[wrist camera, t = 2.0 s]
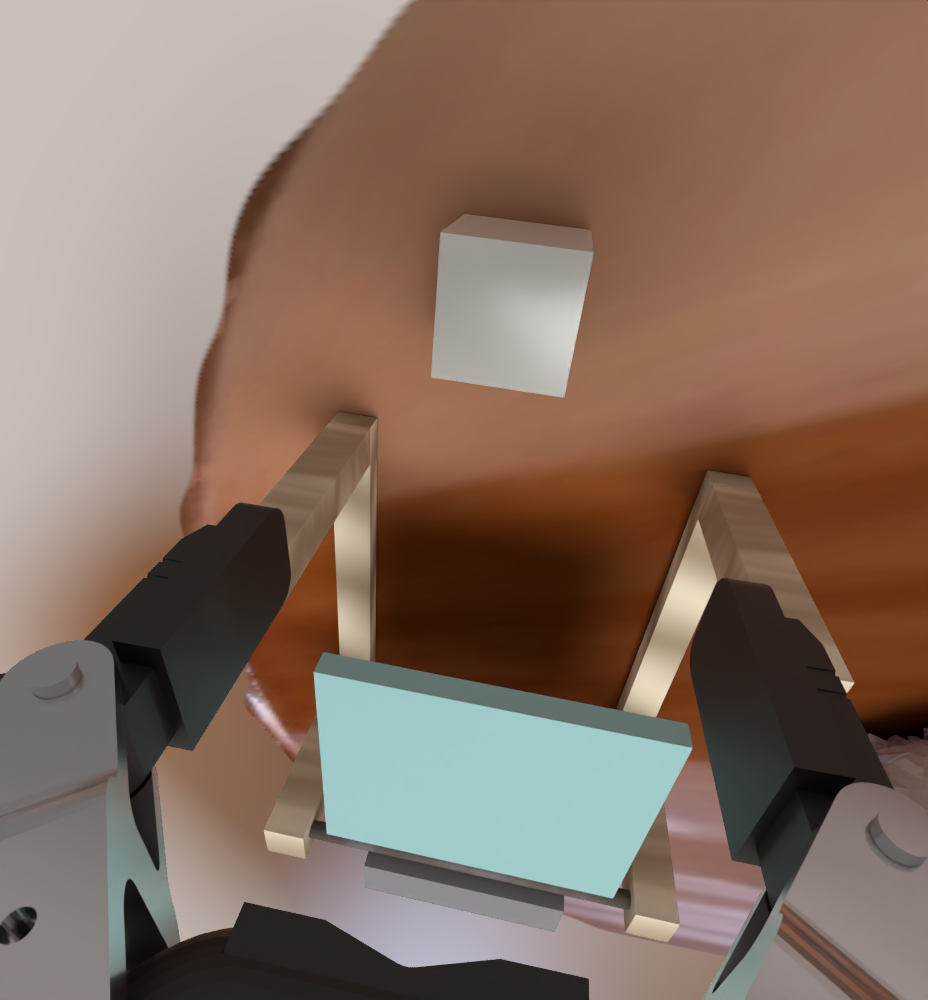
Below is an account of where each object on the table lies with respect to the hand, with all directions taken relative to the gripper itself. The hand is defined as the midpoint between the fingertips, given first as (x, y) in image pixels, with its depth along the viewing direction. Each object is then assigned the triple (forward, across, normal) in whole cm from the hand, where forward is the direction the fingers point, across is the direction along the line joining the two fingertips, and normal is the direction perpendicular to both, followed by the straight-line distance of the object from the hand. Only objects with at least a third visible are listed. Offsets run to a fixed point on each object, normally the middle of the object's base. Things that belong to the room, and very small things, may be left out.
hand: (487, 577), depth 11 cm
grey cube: (+17, +1, -2) cm, 17 cm away
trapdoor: (+7, -1, +19) cm, 20 cm away
